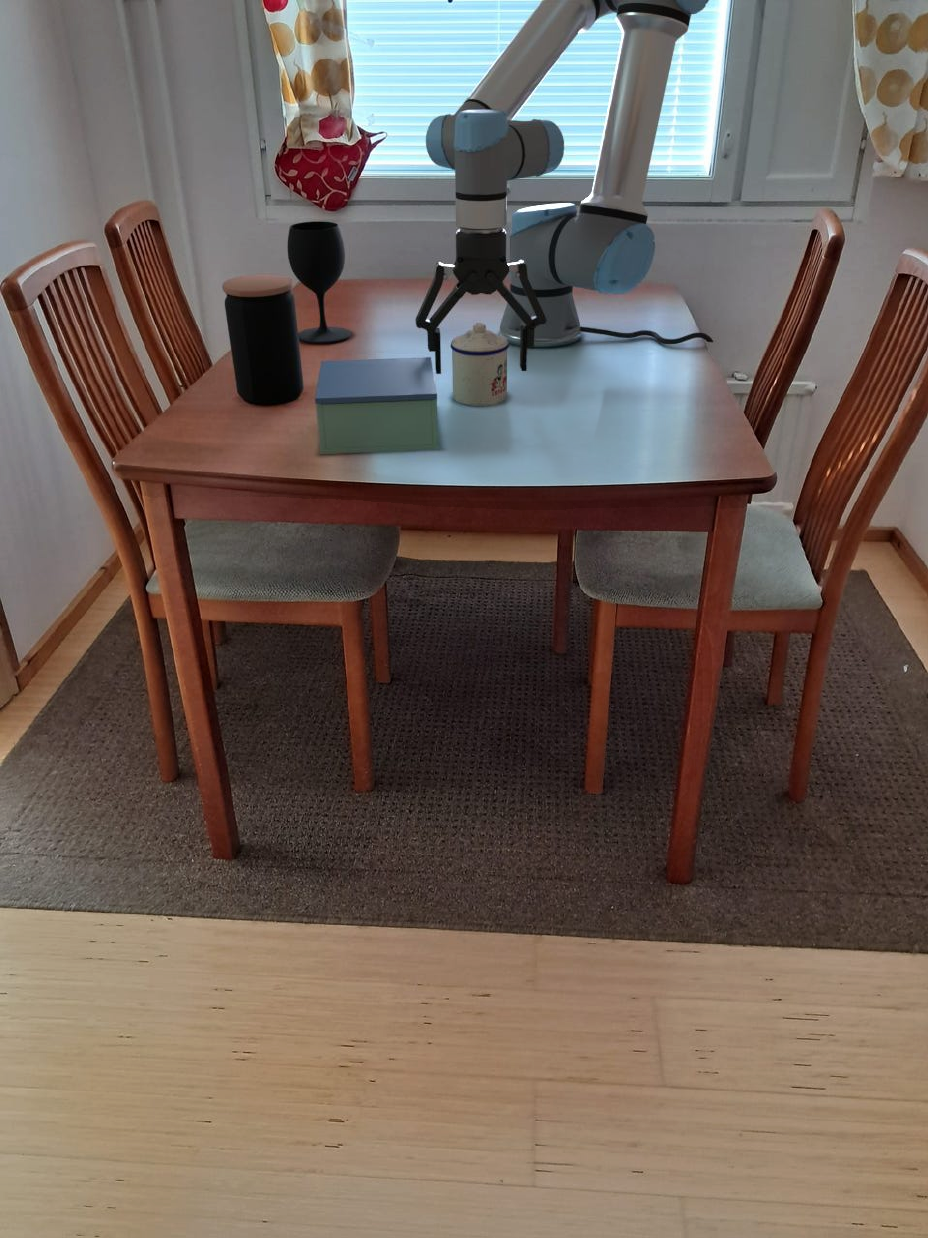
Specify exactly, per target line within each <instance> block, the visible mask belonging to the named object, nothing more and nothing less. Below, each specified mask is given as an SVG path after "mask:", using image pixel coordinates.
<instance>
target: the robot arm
mask: <svg viewBox="0 0 928 1238" xmlns="http://www.w3.org/2000/svg"><path fill="white" fill-rule="evenodd" d="M709 1H710V0H541V1H540V2H539V4H538V5H537V6H536V7H535V9H534V10H533V11H532V13H531V14H530V16H528V18H527V20H525V22H524V23H523V25H522V26H521V27H520V29H519V30H518V32H516V34H515V35H514V36H513V38H511V40H510V41H509V43H508V45H506V46H505V48H504V49H503V50H502V52H501V53H500V55H499V56H498V57H497V58H496V60H495V61H494V62H493V64H492V65H491V66H490V67H489V69H488V70H487V72H486V73H485V74H484V76H483V77H482V78H481V80H480V81H479V82H478V83H477V84H476V86H475V87H474V89H473V90H472V91H471V93H469V95H468V96H467V98H466V99H465V100H464V101H463V103H462V105H460V107H458V109H457V110H456V112H455V113H454V114H451V113H446V114H441V115H438V116H436V117H434V118H433V119H432V120H431V122H430V123H429V125H428V128H427V130H426V134H425V148H426V152H427V155H428V157H429V158H430V160H431V161H432V162H433V163H434V164H435V165H436V166H438V167H442V168H445V169H450V170H452V171H454V180H455V183H454V184H455V185H454V186H455V201H454V202H455V205H454V206H455V226H456V227H457V228H458V229H457V230H456V232H455V261H454V264H447V263H446V264H444V263H443V262H442V261H438V262H436V263H435V266H434V276H433V279H432V282H431V283H430V285H429V287H428V290H427V293H426V295H425V296H424V299H423V301H422V304H421V306H420V308H419V310H418V313H417V315H416V317H415V326H416V327H417V328H418V329H423V330H425V331H426V333H427V349H428V352H429V353H433V352H434V365H435V366H434V368H435V375H441V374H442V354H441V353H442V352H441V350H442V348H441V347H442V345H441V329H440V327H439V326H440V325H441V323H442V322H443V321H444V320H445V319H446V317H447V316H448V314H449V313H450V312H451V311H452V310H453V308H454V307H455V306H456V304H457V303H458V302H459V301H460V300H461V299H462V298H463V297H464V296H465V294H466V293H468V294H470V295H471V296H473V295H474V296H477V295H480V294H483V295H492V294H493V293H495V292H497V293H498V294H499V295H500V296H501V297H502V298H503V299H504V301H506V305H505V308H504V312H503V315H502V318H501V321H500V324H499V335H501V336H503V337H505V338H506V339H507V341H508V344H511V345H515V346H519V368H520V371H521V372H527V370H528V367H527V366H528V350H529V349H531V350H532V349H534V348H555V347H561V346H567V345H570V344H573V343H575V342H577V341H578V340H579V339H580V338H581V333H582V332H583V333H589V334H597V335H604V336H610V337H614V338H620V339H633V338H637V337H641V336H646V337H647V336H649V337H652V338H653V339H655V340H656V341H657V342H659V343H661V344H663V345H677V344H683V343H684V342H687V341H690V340H693V339H703V340H704V341H706V342H707V343H714V340H713V339H712V337H711V336H710V335H708V334H707V333H705V332H699V331H698V332H692V333H689V334H687V335H683V336H681V337H676V338H664V337H663V336H662V335H660V334H659V333H657V332H656V331H654V330H647V329H643V330H636V331H631V332H619V331H614V330H608V329H602V328H595V327H590V326H589V327H587V326H582V325H581V322H580V318H579V313H578V311H577V307H576V302H575V298H574V293H573V292H574V291H573V290H574V288H577V289H578V288H579V289H584V290H588V291H594V292H597V293H599V294H604V295H607V294H611V295H626V294H628V293H630V292H633V291H634V290H635V289H636V288H637V287H638V286H639V285H640V284H641V283H642V282H643V280H644V279H645V277H646V276H647V275H648V272H649V271H650V268H651V265H652V264H653V260H654V256H655V251H656V242H655V241H654V240H655V234H654V231H653V230H652V228H651V227H649V225H647V221H648V216H649V213H648V212H647V210H646V208H645V206H644V205H643V198H644V193H645V188H646V184H647V179H648V174H649V169H650V165H651V160H652V155H653V150H654V146H655V141H656V136H657V131H658V128H659V123H660V118H661V112H662V108H663V103H664V98H665V93H666V89H667V85H668V80H669V76H670V75H669V74H670V71H671V65H672V61H673V57H674V51H675V47H676V42H677V41H678V40H679V39H680V38H681V37H683V36H684V35H685V34H686V33H688V31H689V27H690V22H691V19H692V15H697V14H699V13H700V12H701V11H703V10H704V9H705V8H706V6H707V4H708V3H709ZM612 14H616V16H615V22H616V23H617V25H618V27H619V29H620V30H621V33H622V34H621V40H620V44H619V50H618V56H617V61H616V64H615V65H616V66H615V70H614V76H613V81H612V86H611V92H610V96H609V102H608V107H607V112H606V118H605V122H604V127H603V128H604V129H603V132H602V138H601V143H600V149H599V152H598V153H599V154H598V159H597V163H596V169H595V175H594V179H593V184H592V190H591V193H590V194H589V196H588V197H585V199H584V200H582V201H581V202H580V204H579V205H580V206H579V211H578V209H577V205H576V204H575V203H571V202H563V203H549V204H541V205H532V206H528V207H523V208H520V209H518V210H516V211H514V212H513V214H512V216H511V218H510V219H511V220H510V221H511V222H510V232H509V235H508V236H509V263H508V261H507V231H506V230H505V229H504V228H505V227H506V226H507V224H508V223H507V222H508V220H507V216H508V215H507V214H508V209H507V208H508V181H512V180H519V179H526V178H532V177H533V178H534V177H535V178H536V177H537V178H539V177H541V176H543V175H546V174H550V173H552V172H553V171H555V170H556V169H557V168H558V167H559V166H560V164H561V163H562V161H563V158H564V154H565V139H564V134H563V133H562V131H561V128H560V126H558V125H557V124H556V123H555V122H554V121H551V120H549V119H540V118H539V119H536V118H532V119H531V120H517V119H515V117H516V116H517V115H518V113H519V112H520V111H521V110H522V108H523V107H524V106H525V104H526V103H527V102H528V100H529V99H530V98H531V96H532V95H533V94H534V93H535V91H536V90H537V88H538V87H539V86H540V84H541V83H542V82H543V81H544V79H545V78H546V76H547V75H548V74H549V72H551V70H552V68H553V67H554V66H555V65H556V63H557V62H558V61H559V60H560V58H561V57H562V56H563V54H564V53H565V51H566V50H567V49H568V47H569V46H570V45H571V44H572V43H573V41H574V40H575V39H576V37H577V36H578V34H583V33H586V32H587V31H589V30H590V29H591V28H592V26H594V24H595V22H596V21H597V20H599V19H600V18H602V17H605V16H607V15H612ZM451 274H453V275H454V277H455V278H456V280H457V281H458V282H457V283H456V284H455V285H454V286H453V289H452V290H451V291H450V293H449V294H448V295H447V297H446V298H445V299H444V300H443V301H442V303H441V304H440V306H438V308H437V310H435V312H434V313H433V314H432V315H431V317H429V315H430V313H431V310H432V308H433V306H434V304H435V302H436V299H437V297H438V295H439V293H440V291H441V288H442V286H443V283H444V281H446V280H448V279H449V277H450V275H451ZM508 275H509V288H508V287H507V286H506V284H505V283H504V281H505V280H506V278H507V276H508ZM428 317H429V319H428Z"/></svg>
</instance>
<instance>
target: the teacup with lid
mask: <svg viewBox="0 0 928 1238" xmlns="http://www.w3.org/2000/svg"><path fill="white" fill-rule="evenodd" d="M509 347H510V343H508V341H507V339H506V338H505V337H503V336H501V335H500V334H498V333H495V332H493V331H492V330H489V329H487V325H486V324H485V323H483V322H476V323H474V324H473V326H472V329H471V330H468V331H466V332H465V333H463V334H459V335H457V336H455V337H454V338H453V339H452V340H451V343H450V348H451V355H452V356H451V358H452V361H451V363H452V397H453V399H454V400H455V401H456V402H457V403H460V404H462V405H466V406H472V407H485V406H494V405H497V404H500V403H502V402H503V401H505V399H506V398H507V397H508V396H507V395H508V349H509Z"/></svg>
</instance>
